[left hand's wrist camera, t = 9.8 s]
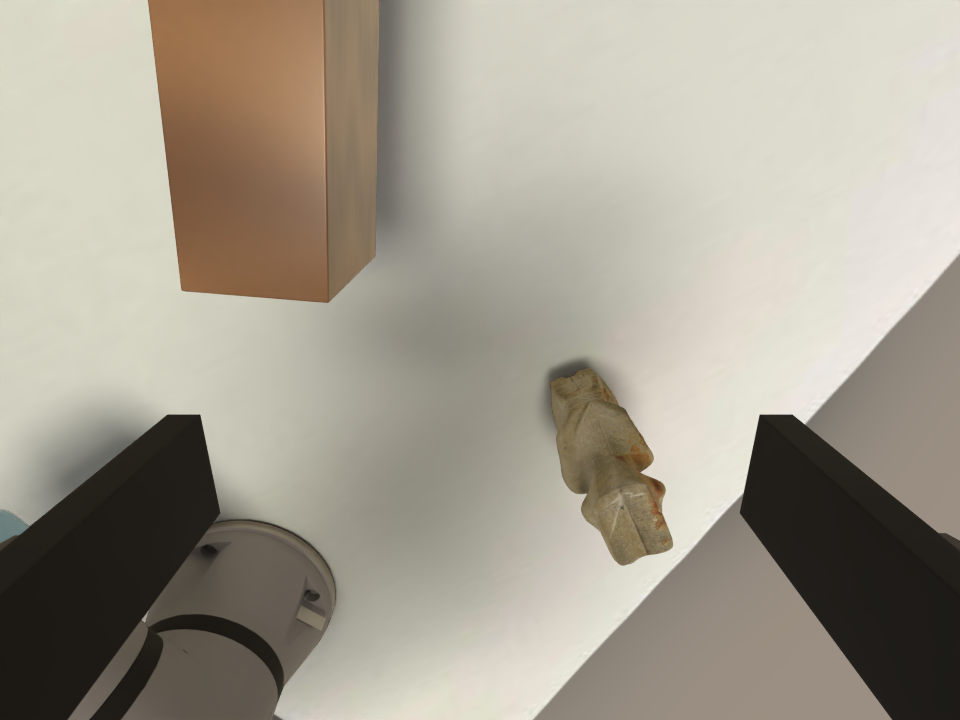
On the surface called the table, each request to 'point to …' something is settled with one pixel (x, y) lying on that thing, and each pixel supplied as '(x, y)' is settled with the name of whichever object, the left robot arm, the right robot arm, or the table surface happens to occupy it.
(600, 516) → the sculpture
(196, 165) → the bar
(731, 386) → the table surface
